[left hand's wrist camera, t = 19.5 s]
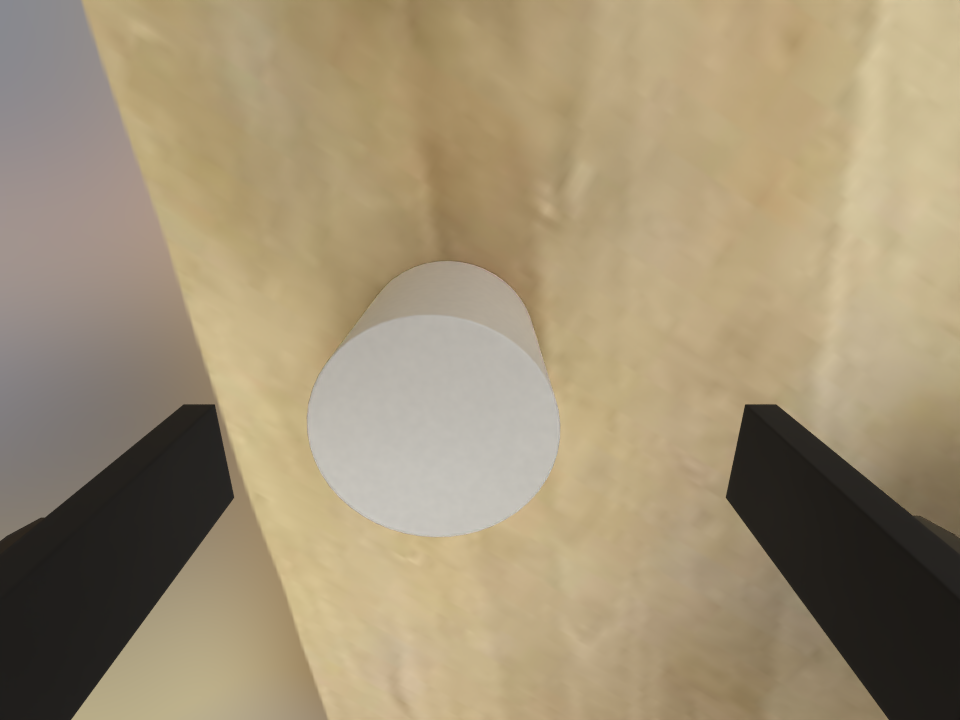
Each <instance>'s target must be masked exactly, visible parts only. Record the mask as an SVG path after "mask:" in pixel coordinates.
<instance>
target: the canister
mask: <svg viewBox="0 0 960 720" xmlns="http://www.w3.org/2000/svg"><path fill="white" fill-rule="evenodd" d="M307 433H308V438H309V443H310V448H311V451H312V454H313V457H314V460H315V462H316V464H317V466H318V468H319V470H320V472H321V474H322V476H323V477H324V479H325V480H326V482H327V483H328V485H329V486H330V487H331V488H332V490H333V491H334V492H335V493H336V494H337V495H338V496H339V498H341V499H342V500H343V501H344V502H345V503H346V504H347V505H348V506H350V507H351V508H352V509H354V510H355V511H356V512H358V513H359V514H361V515H362V516H364V517H366V518H367V519H369V520H371V521H373V522H375V523H377V524H379V525H382V526H384V527H386V528H389V529H392V530H395V531H399V532H402V533H406V534H411V535H417V536H427V537H451V536H458V535H465V534H469V533H473V532H477V531H480V530H483V529H486V528H489V527H491V526H494V525H496V524H498V523H500V522H502V521H504V520H505V519H507V518H509V517H510V516H512V515H513V514H515V513H516V512H518V511H519V510H520V509H521V508H522V507H523V506H525V505H526V504H527V503H528V502H529V501H530V500H531V499H532V498H533V497H534V496H535V494H536V493H537V492H538V491H539V490H540V488H541V487H542V485H543V484H544V482H545V481H546V479H547V477H548V475H549V473H550V471H551V469H552V467H553V465H554V462H555V459H556V456H557V452H558V447H559V441H560V418H559V410H558V406H557V403H556V399H555V396H554V392H553V389H552V386H551V383H550V379H549V376H548V373H547V370H546V366H545V363H544V360H543V357H542V354H541V350H540V347H539V344H538V341H537V337H536V334H535V331H534V328H533V325H532V321H531V318H530V316H529V313H528V311H527V309H526V307H525V305H524V304H523V302H522V300H521V299H520V297H519V296H518V295H517V294H516V292H515V291H514V290H513V289H512V288H511V287H510V286H509V285H508V284H507V283H506V282H505V281H503V280H502V279H501V278H499V277H498V276H496V275H495V274H493V273H491V272H489V271H487V270H485V269H483V268H481V267H478V266H475V265H472V264H468V263H463V262H455V261H437V262H431V263H425V264H422V265H419V266H416V267H413V268H411V269H409V270H407V271H405V272H403V273H401V274H400V275H398V276H397V277H395V278H394V279H393V280H391V281H390V282H389V283H388V284H387V285H386V286H385V287H384V288H383V289H382V290H381V291H380V293H379V294H378V295H377V296H376V298H375V299H374V300H373V302H372V303H371V304H370V306H369V307H368V308H367V310H366V311H365V312H364V314H363V315H362V316H361V318H360V319H359V320H358V321H357V323H356V324H355V325H354V327H353V328H352V329H351V331H350V332H349V333H348V335H347V336H346V337H345V339H344V340H343V341H342V343H341V344H340V345H339V347H338V348H337V349H336V351H335V352H334V353H333V355H332V356H331V357H330V359H329V360H328V361H327V363H326V364H325V366H324V367H323V369H322V370H321V372H320V374H319V375H318V378H317V380H316V382H315V384H314V386H313V389H312V392H311V396H310V400H309V404H308V413H307Z"/></svg>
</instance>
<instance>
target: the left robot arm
mask: <svg viewBox="0 0 960 720" xmlns="http://www.w3.org/2000/svg"><path fill="white" fill-rule="evenodd" d="M233 498H234V495H233V490H232V485H231V480H230V476H229V471H228V466H227V461H226V456H225V451H224V447H223V442H222V437H221V432H220V427H219V423H218V418H217V413H216V409H215V405H183V406H181V407H180V408H179V409H178V410H176V411H175V412H174V413H173V414H172V415H170V416H169V417H168V418H167V419H165V420H164V421H163V422H162V423H161V424H159V425H158V426H157V427H156V428H154V429H153V430H152V431H151V432H149V433H148V434H147V435H146V436H145V437H143V438H142V439H141V440H140V441H138V442H137V443H136V444H135V445H134V446H132V447H131V448H130V449H129V450H127V451H126V452H125V453H124V454H122V455H121V456H120V457H119V458H118V459H116V460H115V461H114V462H113V463H111V464H110V465H109V466H108V467H107V468H105V469H104V470H103V471H102V472H100V473H99V474H98V475H97V476H96V477H94V478H93V479H92V480H91V481H89V482H88V483H87V484H86V485H84V486H83V487H82V488H81V489H80V490H78V491H77V492H76V493H75V494H74V495H72V496H71V497H70V498H69V499H67V500H66V501H65V502H64V503H63V504H61V505H60V506H59V507H58V508H56V509H55V510H54V511H53V512H51V513H50V514H49V515H48V516H47V517H45V518H40V519H38V520H36V521H34V522H32V523H30V524H28V525H27V526H25V527H23V528H21V529H19V530H17V531H15V532H13V533H12V534H10V535H8V536H6V537H5V538H4V539H2V540H1V541H0V720H71V719H72V718H73V716H74V715H75V714H76V712H77V711H78V709H79V708H80V707H81V705H82V704H83V703H84V701H85V700H86V699H87V697H88V696H89V695H90V693H91V692H92V690H93V689H94V688H95V686H96V685H97V684H98V682H99V681H100V680H101V678H102V677H103V675H104V674H105V673H106V671H107V670H108V669H109V667H110V666H111V665H112V663H113V662H114V660H115V659H116V658H117V656H118V655H119V654H120V652H121V651H122V650H123V648H124V647H125V645H126V644H127V643H128V641H129V640H130V639H131V637H132V636H133V635H134V633H135V632H136V631H137V629H138V628H139V626H140V625H141V624H142V622H143V621H144V620H145V618H146V617H147V615H148V614H149V613H150V611H151V610H152V609H153V607H154V606H155V605H156V603H157V602H158V601H159V599H160V598H161V596H162V595H163V594H164V592H165V591H166V590H167V588H168V587H169V586H170V584H171V583H172V582H173V580H174V579H175V577H176V576H177V575H178V573H179V572H180V571H181V569H182V568H183V567H184V565H185V564H186V562H187V561H188V560H189V558H190V557H191V556H192V554H193V553H194V552H195V550H196V549H197V547H198V546H199V545H200V543H201V542H202V541H203V539H204V538H205V537H206V535H207V534H208V532H209V531H210V530H211V528H212V527H213V526H214V524H215V523H216V522H217V520H218V519H219V518H220V516H221V515H222V513H223V512H224V511H225V509H226V508H227V507H228V505H229V504H230V503H231V501H232V500H233ZM726 498H727V500H728V501H729V503H730V504H731V505H732V507H733V508H734V509H735V511H736V512H737V513H738V515H739V516H740V518H741V519H742V520H743V522H744V523H745V524H746V526H747V527H748V528H749V530H750V531H751V532H752V534H753V535H754V537H755V538H756V539H757V541H758V542H759V543H760V545H761V546H762V547H763V549H764V550H765V552H766V553H767V554H768V556H769V557H770V558H771V560H772V561H773V562H774V564H775V565H776V567H777V568H778V569H779V571H780V572H781V573H782V575H783V576H784V577H785V579H786V580H787V582H788V583H789V584H790V586H791V587H792V588H793V590H794V591H795V592H796V594H797V595H798V596H799V598H800V599H801V601H802V602H803V603H804V605H805V606H806V607H807V609H808V610H809V611H810V613H811V614H812V616H813V617H814V618H815V620H816V621H817V622H818V624H819V625H820V626H821V628H822V629H823V631H824V632H825V633H826V635H827V636H828V637H829V639H830V640H831V641H832V643H833V644H834V645H835V647H836V648H837V650H838V651H839V652H840V654H841V655H842V656H843V658H844V659H845V660H846V662H847V663H848V665H849V666H850V667H851V669H852V670H853V671H854V673H855V674H856V675H857V677H858V678H859V680H860V681H861V682H862V684H863V685H864V686H865V688H866V689H867V690H868V692H869V693H870V695H871V696H872V697H873V699H874V700H875V701H876V703H877V704H878V705H879V707H880V708H881V709H882V711H883V712H884V714H885V715H886V716H887V718H888V719H889V720H960V539H959V538H958V537H957V536H956V535H954V534H953V533H951V532H949V531H947V530H945V529H943V528H941V527H939V526H938V525H936V524H934V523H932V522H930V521H928V520H926V519H925V518H923V517H921V516H912V515H911V514H910V513H909V512H907V511H906V510H905V509H904V508H902V507H901V506H900V505H899V504H898V503H896V502H895V501H894V500H893V499H891V498H890V497H889V496H888V495H887V494H885V493H884V492H883V491H882V490H880V489H879V488H878V487H877V486H876V485H874V484H873V483H872V482H871V481H869V480H868V479H867V478H866V477H864V476H863V475H862V474H861V473H860V472H858V471H857V470H856V469H855V468H853V467H852V466H851V465H850V464H849V463H847V462H846V461H845V460H844V459H842V458H841V457H840V456H839V455H838V454H836V453H835V452H834V451H833V450H831V449H830V448H829V447H828V446H826V445H825V444H824V443H823V442H822V441H820V440H819V439H818V438H817V437H815V436H814V435H813V434H812V433H811V432H809V431H808V430H807V429H806V428H804V427H803V426H802V425H801V424H800V423H798V422H797V421H796V420H795V419H793V418H792V417H791V416H790V415H788V414H787V413H786V412H785V411H784V410H782V409H781V408H780V407H779V406H777V405H745V408H744V413H743V418H742V423H741V427H740V432H739V437H738V442H737V447H736V451H735V456H734V461H733V466H732V471H731V475H730V480H729V485H728V490H727V494H726Z"/></svg>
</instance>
